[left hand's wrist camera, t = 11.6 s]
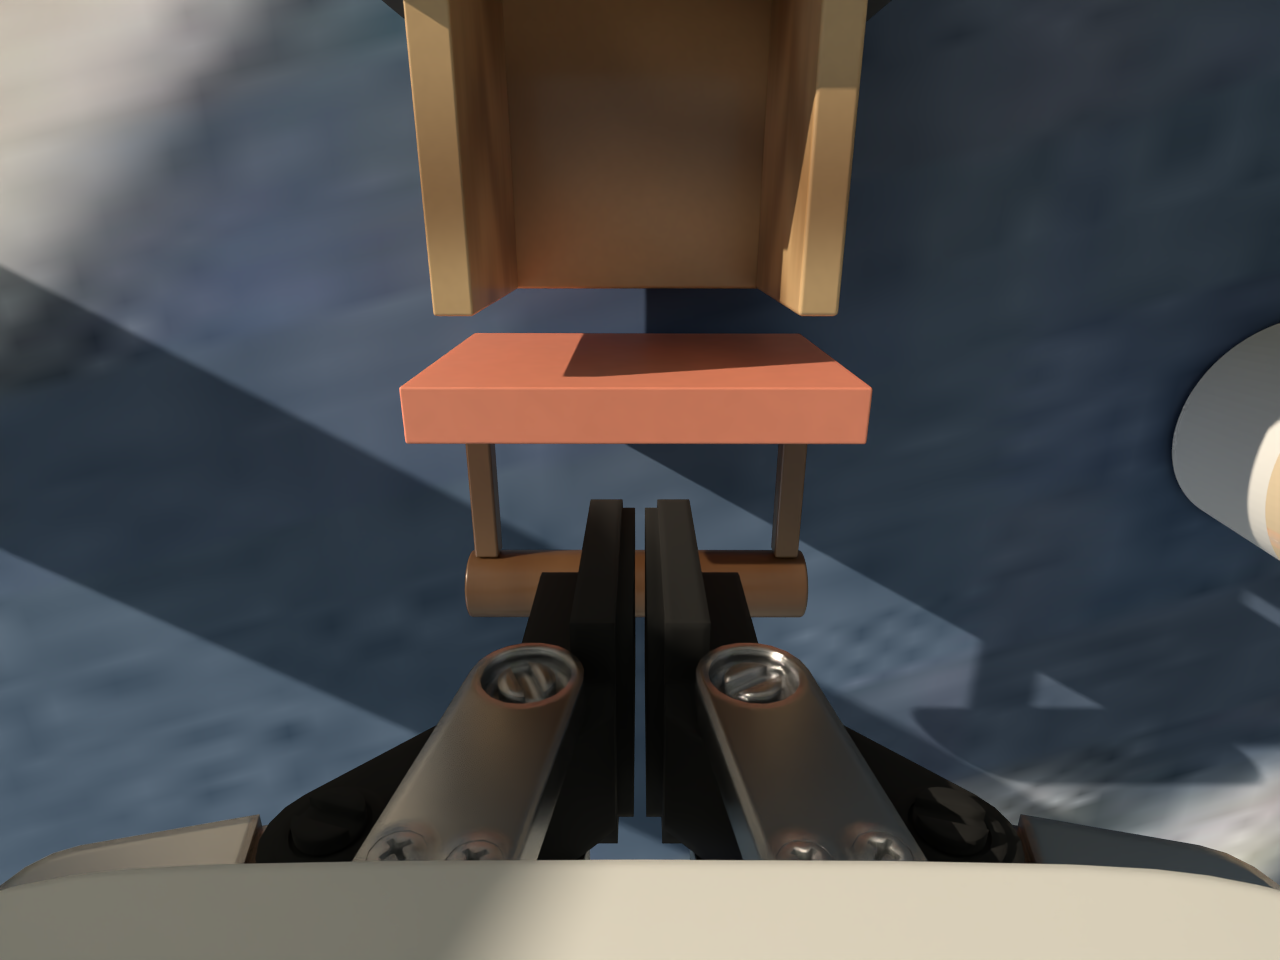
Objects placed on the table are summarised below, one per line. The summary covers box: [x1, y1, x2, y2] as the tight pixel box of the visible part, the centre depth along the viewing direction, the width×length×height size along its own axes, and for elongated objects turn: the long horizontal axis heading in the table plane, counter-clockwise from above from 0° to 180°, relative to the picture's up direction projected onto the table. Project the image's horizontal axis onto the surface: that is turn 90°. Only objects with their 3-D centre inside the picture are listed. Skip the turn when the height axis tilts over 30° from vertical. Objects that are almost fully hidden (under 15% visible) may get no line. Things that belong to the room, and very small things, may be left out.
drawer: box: [399, 0, 872, 617], centre depth 16 cm, size 25×10×7 cm, turn 0°
